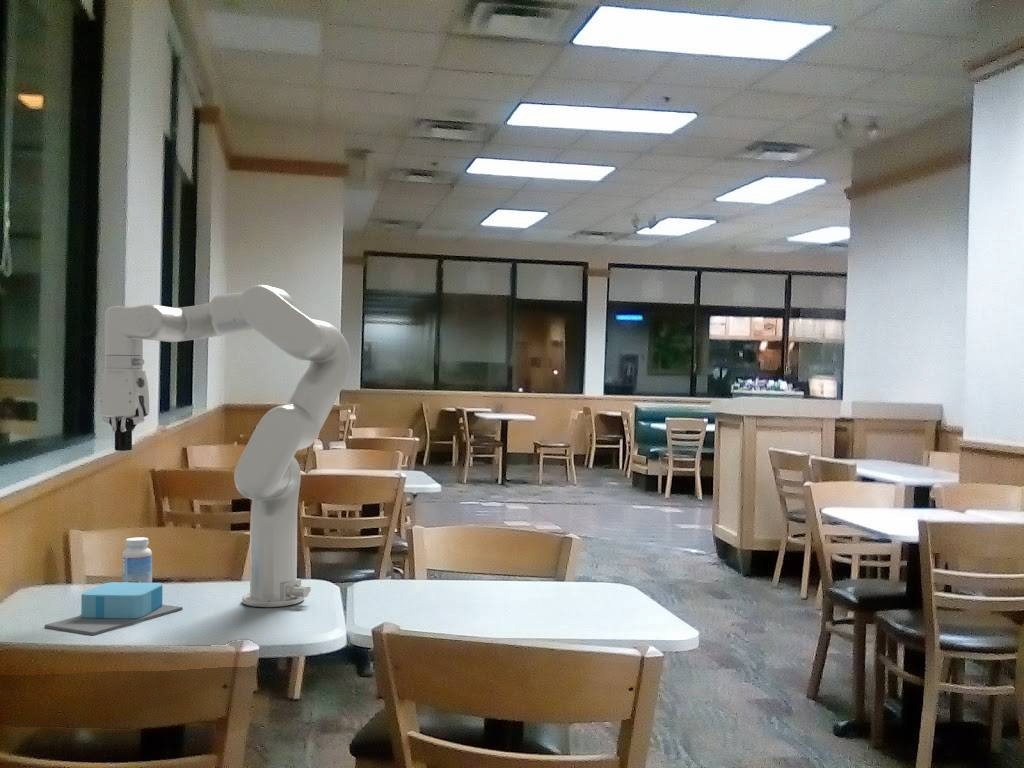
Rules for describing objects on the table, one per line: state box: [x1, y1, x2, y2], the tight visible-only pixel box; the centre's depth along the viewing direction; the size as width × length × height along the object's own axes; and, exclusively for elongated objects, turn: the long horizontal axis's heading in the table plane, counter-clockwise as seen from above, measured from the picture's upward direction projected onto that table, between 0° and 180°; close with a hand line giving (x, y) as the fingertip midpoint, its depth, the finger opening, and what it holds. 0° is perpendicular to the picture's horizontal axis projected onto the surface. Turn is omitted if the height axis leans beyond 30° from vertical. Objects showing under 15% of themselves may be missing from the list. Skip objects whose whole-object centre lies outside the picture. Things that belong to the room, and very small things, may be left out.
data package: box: [80, 581, 163, 619], centre depth 190 cm, size 12×4×12 cm
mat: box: [44, 604, 183, 636], centre depth 187 cm, size 12×22×1 cm, turn 155°
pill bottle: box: [121, 536, 153, 583], centre depth 213 cm, size 6×6×11 cm
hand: (123, 450), depth 206 cm, fingers closed
